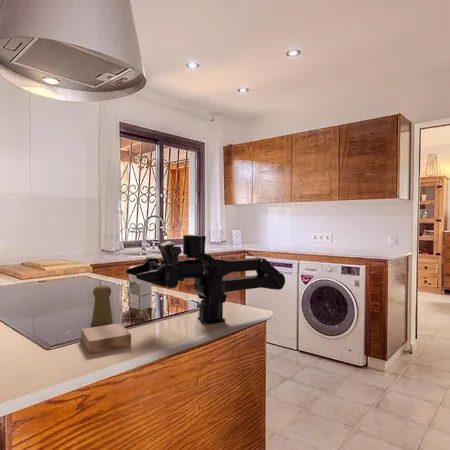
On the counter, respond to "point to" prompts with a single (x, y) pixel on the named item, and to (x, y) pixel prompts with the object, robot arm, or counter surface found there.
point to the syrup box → (139, 293)
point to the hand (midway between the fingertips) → (131, 273)
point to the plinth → (105, 338)
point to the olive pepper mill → (102, 306)
